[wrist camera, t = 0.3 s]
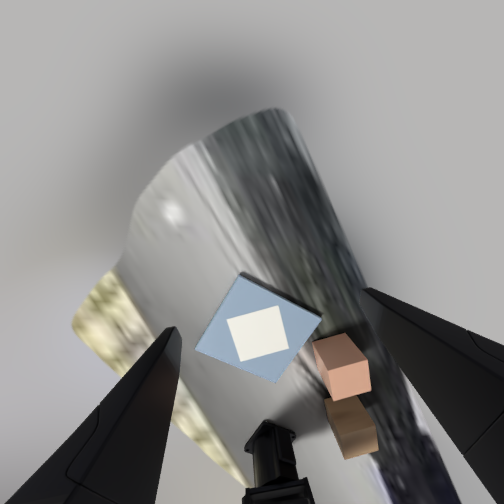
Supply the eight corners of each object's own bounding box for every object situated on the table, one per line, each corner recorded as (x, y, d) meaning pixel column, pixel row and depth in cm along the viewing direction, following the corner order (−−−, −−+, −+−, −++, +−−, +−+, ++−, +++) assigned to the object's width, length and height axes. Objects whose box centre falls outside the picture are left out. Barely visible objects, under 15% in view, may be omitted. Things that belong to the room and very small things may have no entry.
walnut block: (357, 413, 33) (378, 450, 28) (328, 421, 33) (344, 459, 28) (353, 391, 31) (375, 425, 26) (324, 399, 31) (340, 435, 26)
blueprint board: (274, 379, 29) (275, 383, 29) (195, 346, 27) (194, 349, 26) (320, 316, 27) (322, 319, 27) (238, 274, 25) (238, 276, 24)
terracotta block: (349, 359, 30) (371, 390, 25) (317, 368, 30) (333, 401, 25) (345, 332, 28) (367, 359, 24) (312, 341, 28) (327, 370, 23)
